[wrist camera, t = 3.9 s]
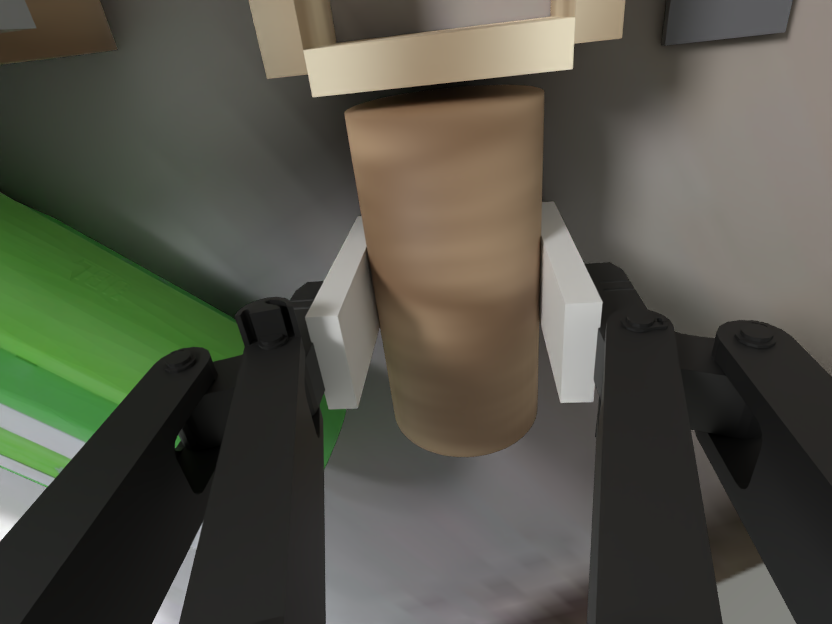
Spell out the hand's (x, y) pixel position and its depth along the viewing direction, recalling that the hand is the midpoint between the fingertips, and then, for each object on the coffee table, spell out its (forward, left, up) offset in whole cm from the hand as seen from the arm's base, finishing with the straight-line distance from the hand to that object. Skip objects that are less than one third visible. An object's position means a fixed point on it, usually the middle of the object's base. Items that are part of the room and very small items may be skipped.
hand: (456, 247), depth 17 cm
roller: (0, 0, 0) cm, 0 cm away
